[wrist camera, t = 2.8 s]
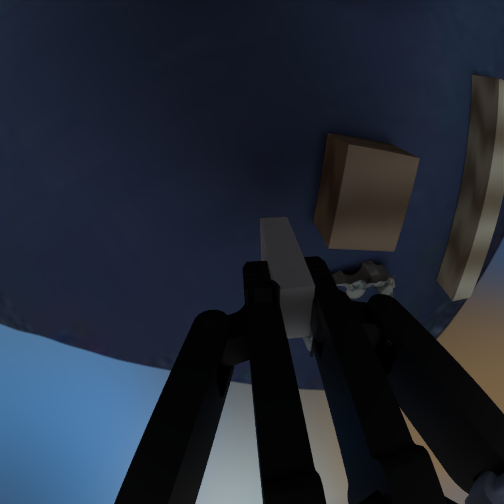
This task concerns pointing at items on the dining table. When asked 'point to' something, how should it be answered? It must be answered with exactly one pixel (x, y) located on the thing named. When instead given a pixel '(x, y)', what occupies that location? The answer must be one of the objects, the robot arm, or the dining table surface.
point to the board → (477, 191)
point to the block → (363, 193)
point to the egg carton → (362, 284)
